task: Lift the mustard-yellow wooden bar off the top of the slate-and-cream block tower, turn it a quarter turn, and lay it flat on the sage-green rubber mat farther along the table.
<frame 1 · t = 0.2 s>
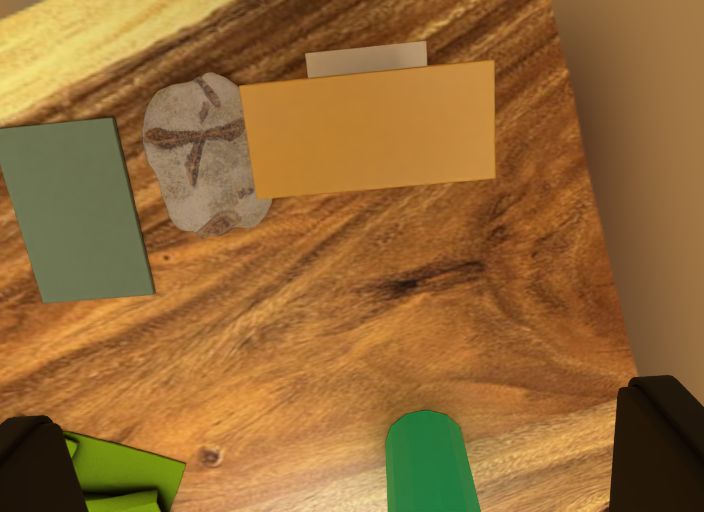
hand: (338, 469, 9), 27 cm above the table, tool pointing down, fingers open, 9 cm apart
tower: (370, 108, 33), on the table
stone: (213, 155, 34), on the table
mat: (78, 214, 36), on the table
bar: (369, 124, 24), point 10 cm above the table, touching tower
candle: (424, 441, 41), on the table
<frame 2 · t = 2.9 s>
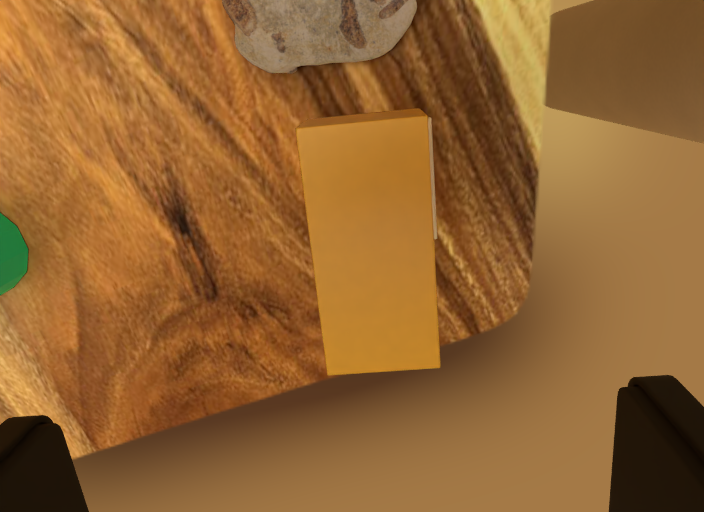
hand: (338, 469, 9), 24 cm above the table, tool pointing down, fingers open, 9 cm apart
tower: (373, 182, 32), on the table
bar: (373, 231, 22), point 10 cm above the table, touching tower
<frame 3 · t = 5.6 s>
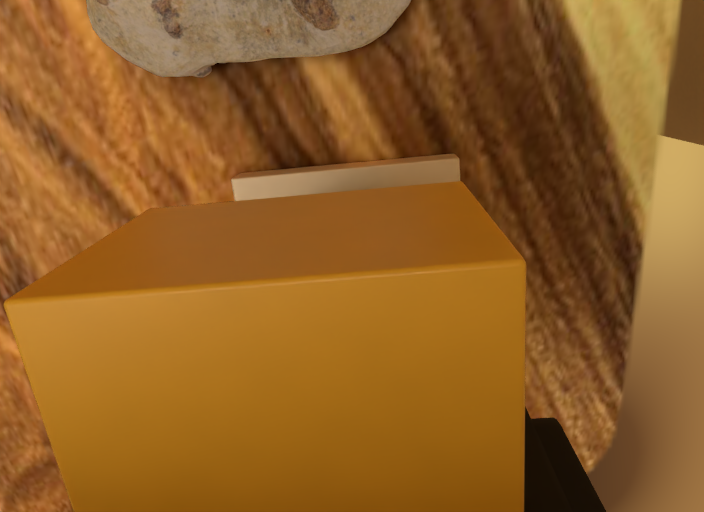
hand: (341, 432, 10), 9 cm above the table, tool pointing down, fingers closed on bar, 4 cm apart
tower: (355, 265, 18), on the table
bar: (338, 472, 9), point 10 cm above the table, touching gripper, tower
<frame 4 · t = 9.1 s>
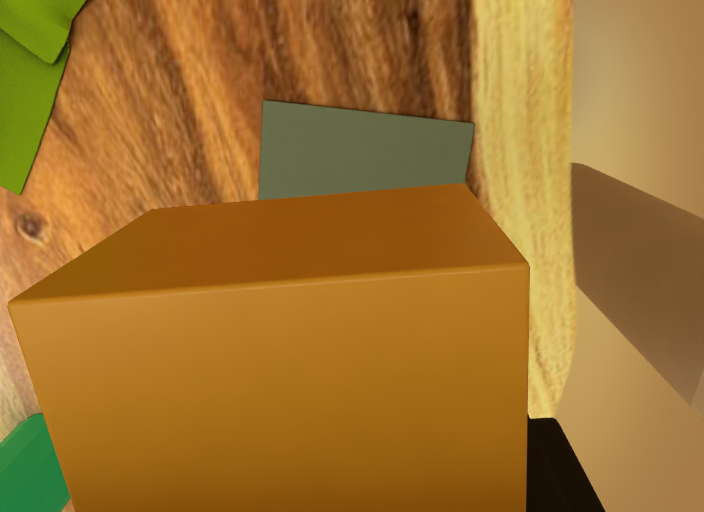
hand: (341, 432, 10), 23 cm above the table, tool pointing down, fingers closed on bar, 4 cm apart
mat: (361, 180, 32), on the table
bar: (339, 473, 9), point 24 cm above the table, touching gripper
candle: (56, 445, 39), on the table
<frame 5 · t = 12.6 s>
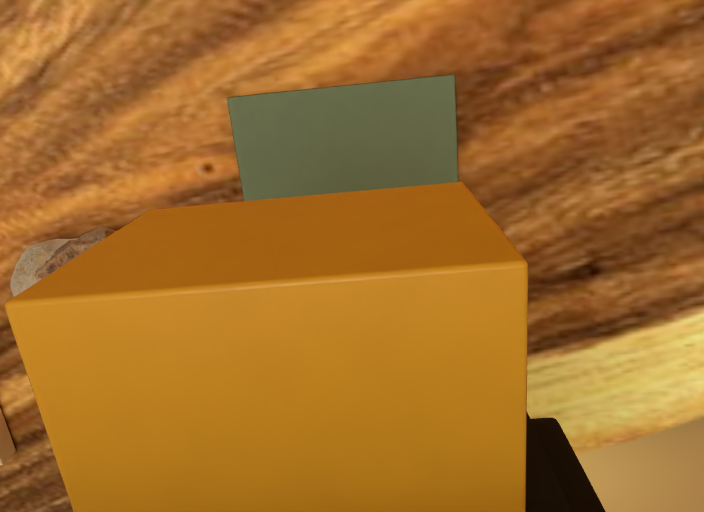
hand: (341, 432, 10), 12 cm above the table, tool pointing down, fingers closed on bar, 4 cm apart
stone: (133, 332, 23), on the table
mat: (355, 246, 21), on the table
bar: (339, 473, 9), point 13 cm above the table, touching gripper
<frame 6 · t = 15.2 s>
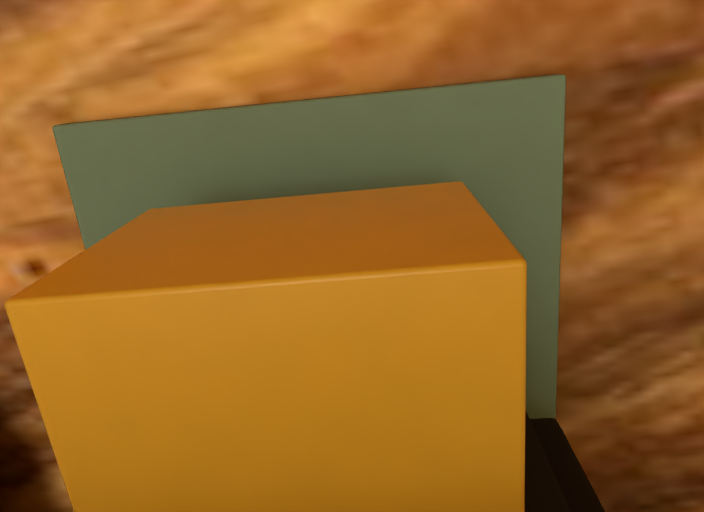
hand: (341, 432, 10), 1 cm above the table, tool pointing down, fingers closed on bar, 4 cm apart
mat: (342, 415, 11), on the table
bar: (338, 472, 9), point 2 cm above the table, touching gripper
when the fingers open (1 cm above the table, at t = 20.0 s): bar drops 2 cm, resting on mat.
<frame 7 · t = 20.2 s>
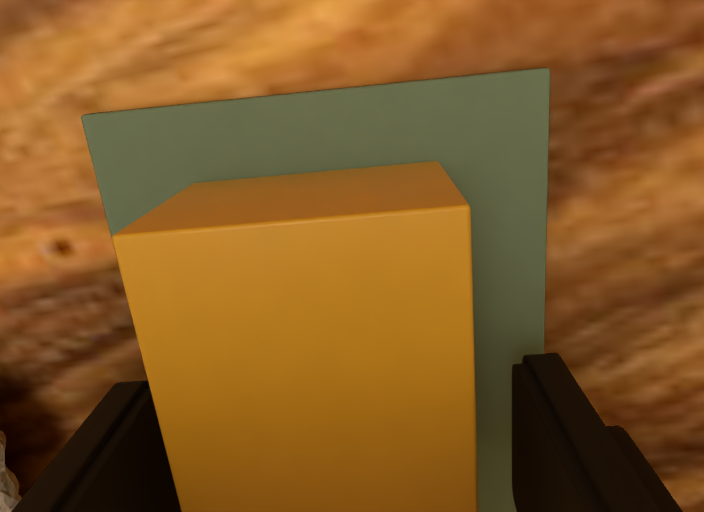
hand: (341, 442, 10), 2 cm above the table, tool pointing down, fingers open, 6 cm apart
mat: (345, 386, 11), on the table
bar: (341, 401, 11), resting on mat
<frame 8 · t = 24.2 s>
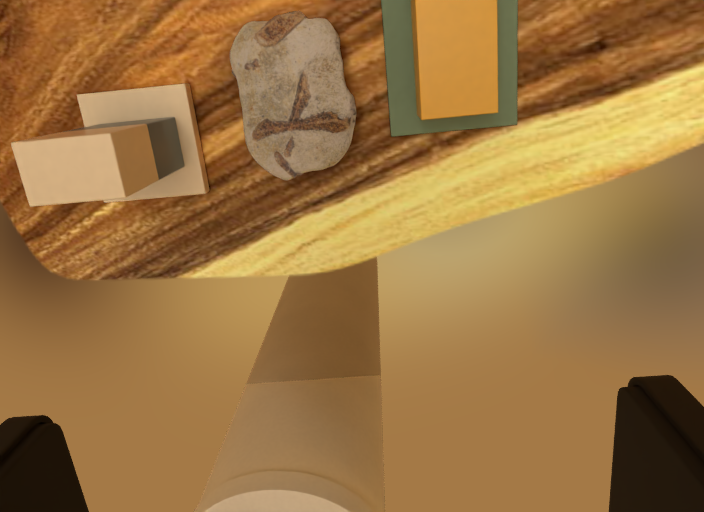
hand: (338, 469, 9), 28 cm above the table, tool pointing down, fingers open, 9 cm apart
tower: (148, 143, 36), on the table
stone: (297, 97, 35), on the table
mat: (449, 29, 33), on the table
bar: (448, 31, 32), resting on mat
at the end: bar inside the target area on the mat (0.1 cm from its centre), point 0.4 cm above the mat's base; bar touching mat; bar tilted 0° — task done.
